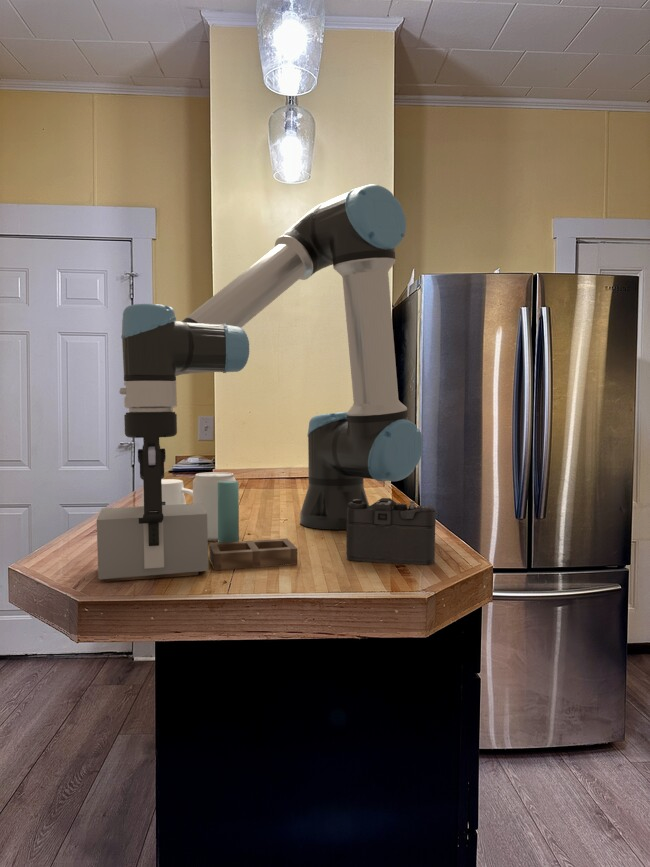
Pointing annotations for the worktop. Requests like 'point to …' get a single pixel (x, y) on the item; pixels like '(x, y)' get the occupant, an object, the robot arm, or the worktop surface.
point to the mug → (171, 492)
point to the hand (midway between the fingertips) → (154, 558)
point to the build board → (252, 554)
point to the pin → (228, 511)
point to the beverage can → (210, 497)
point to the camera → (390, 532)
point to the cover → (126, 541)
